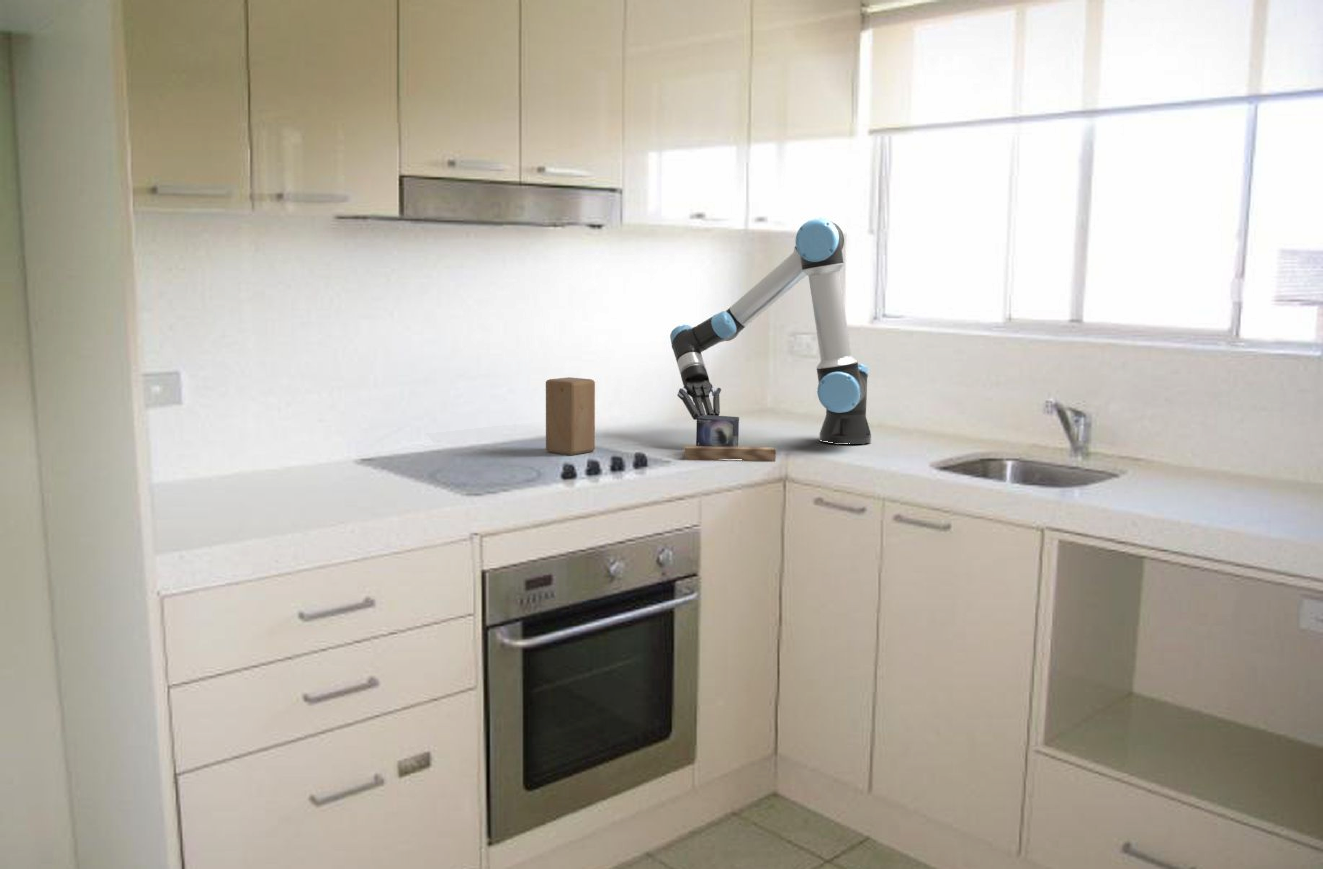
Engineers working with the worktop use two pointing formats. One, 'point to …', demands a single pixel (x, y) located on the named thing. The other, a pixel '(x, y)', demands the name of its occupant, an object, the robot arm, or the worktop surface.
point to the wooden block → (570, 416)
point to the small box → (717, 431)
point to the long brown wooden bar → (729, 453)
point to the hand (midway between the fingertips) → (713, 437)
